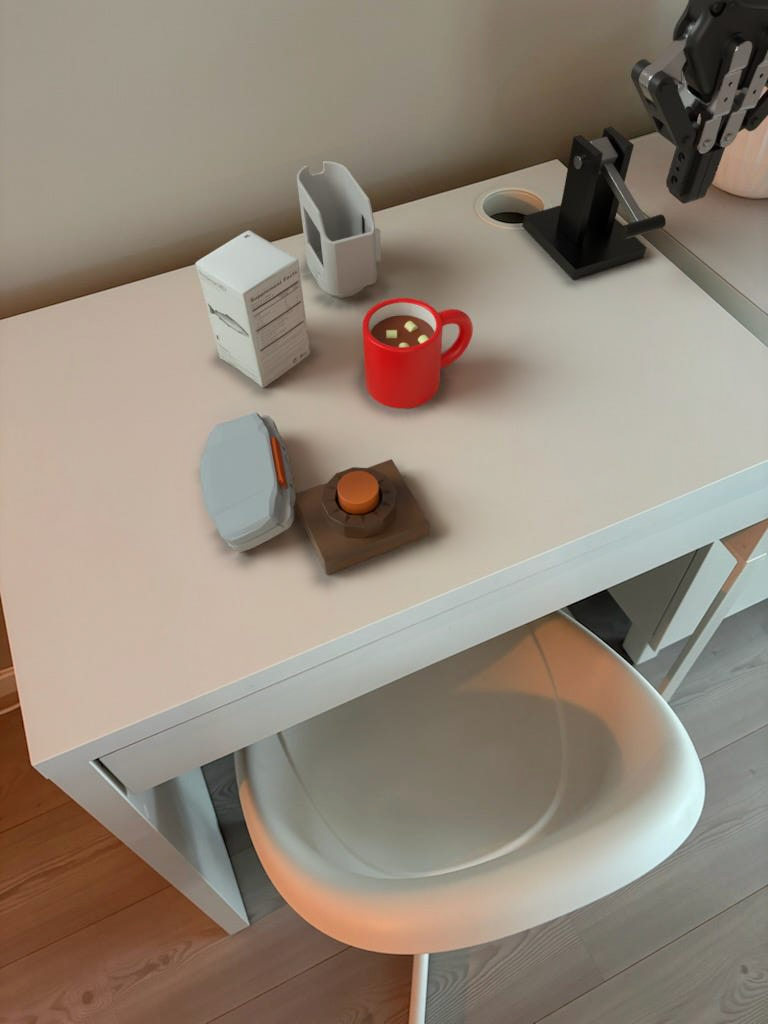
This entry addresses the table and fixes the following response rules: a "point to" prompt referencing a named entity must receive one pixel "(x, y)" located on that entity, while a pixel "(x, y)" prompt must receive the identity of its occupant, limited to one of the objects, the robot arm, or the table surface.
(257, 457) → the grey case
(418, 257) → the table surface
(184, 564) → the table surface
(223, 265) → the white packaging box
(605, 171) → the lever
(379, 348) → the mug
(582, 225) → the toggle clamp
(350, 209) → the cable organizer
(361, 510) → the button
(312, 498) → the button block
